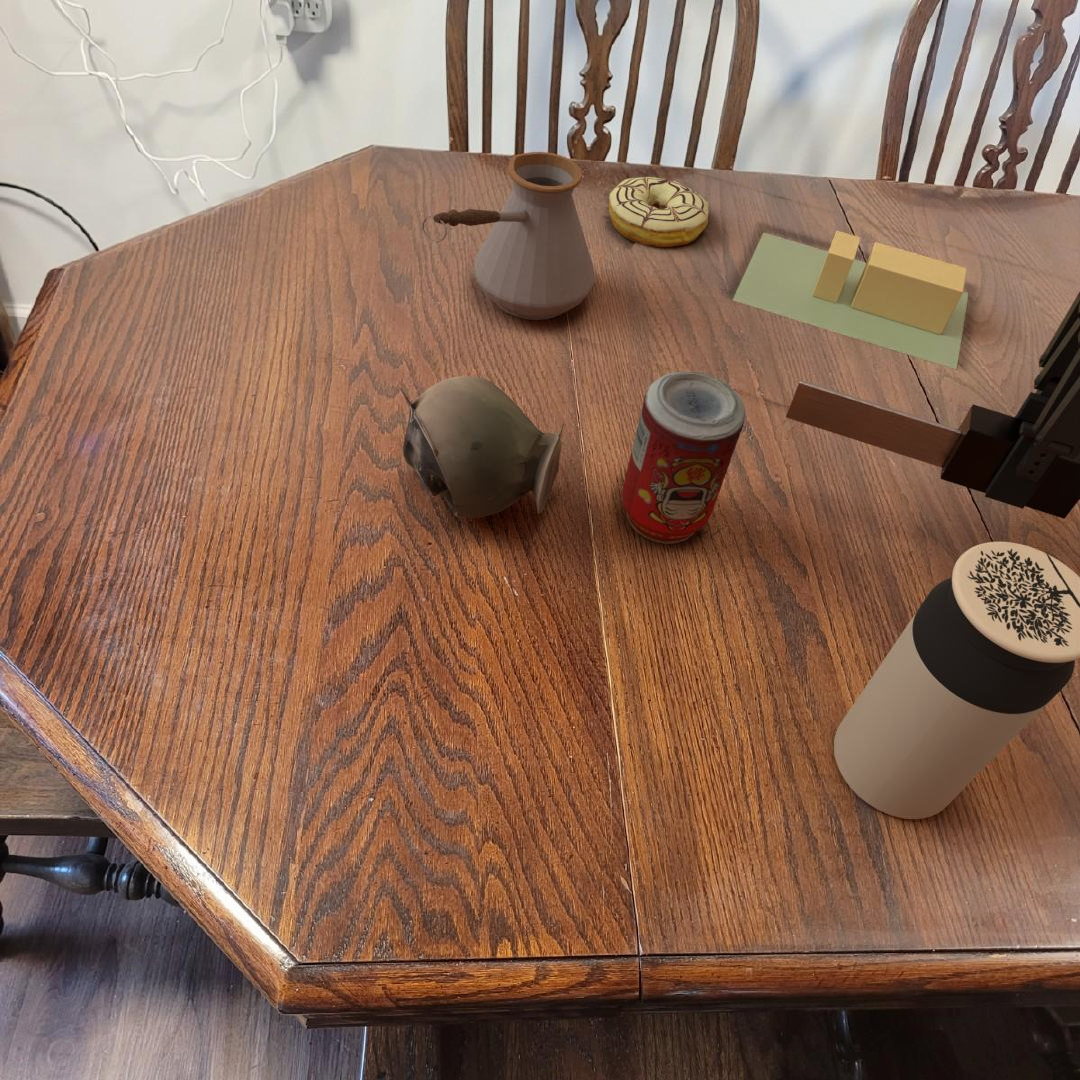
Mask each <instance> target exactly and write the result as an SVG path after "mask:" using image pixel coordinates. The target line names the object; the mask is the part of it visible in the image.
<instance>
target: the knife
mask: <svg viewBox="0 0 1080 1080" xmlns="http://www.w3.org/2000/svg"><path fill="white" fill-rule="evenodd" d="M798 381H799V382H798V384H797V386H796V389H795V392H794V395H793V397H792V399H791V402H790V405H789V408H788V410H787V413H786V415H785V418H786V419H789V420H792V421H795V422H798V423H801V424H804V425H808V426H811V427H815V428H817V429H821V430H824V431H826V432H829V433H833V434H836V435H839V436H841V437H846V438H849V439H852V440H855V441H857V442H861V443H864V444H867V445H870V446H872V447H876V448H879V449H882V450H884V451H885V450H886V451H888V452H893V453H895V454H897V455H900V456H901V455H902V456H904V457H906V458H907V457H908V458H910V459H913V460H916V461H920V462H923V463H926V464H929V465H932V466H935V467H939V468H941V471H940V477H939V478H940V480H943V481H945V482H949V483H952V484H955V485H958V486H961V487H964V488H966V489H967V488H968V489H970V490H973V491H977V492H980V493H982V494H985V492H986V489H987V487H988V486H989V484H990V483H991V481H992V480H993V478H994V477H995V475H996V474H997V472H998V470H999V469H1000V467H1001V466H1002V464H1003V463H1004V461H1005V460H1006V458H1007V456H1008V455H1009V453H1010V452H1011V450H1012V449H1013V447H1014V446H1015V444H1016V442H1017V441H1018V439H1019V438H1020V436H1021V434H1019V430H1020V427H1021V424H1022V422H1023V421H1024V422H1028V423H1031V424H1034V425H1035V423H1032V422H1029V421H1026V420H1022V419H1019V418H1016V417H1015V416H1013V415H1009V414H1006V413H1003V412H1000V411H997V410H993V409H990V408H987V407H983V406H980V405H977V404H972V405H971V406H970V408H969V410H968V411H967V413H966V415H965V417H964V418H963V420H962V422H961V424H960V425H959V427H958V428H956V427H952V426H949V425H946V424H942V423H941V422H937V421H934V420H930V419H928V418H923V417H922V416H921V417H920V416H917V415H914V414H911V413H907V412H905V411H901V410H899V409H895V408H892V407H889V406H885V405H883V404H880V403H876V402H873V401H870V400H866V399H863V398H860V397H856V396H854V395H850V394H847V393H844V392H840V391H838V390H835V389H831V388H829V387H825V386H822V385H818V384H816V383H813V382H809V381H806V380H803V379H800V380H798ZM1078 502H1080V454H1079V455H1078V456H1077V457H1076V458H1075V459H1071V458H1067V457H1064V456H1060V457H1059V459H1058V460H1057V461H1056V463H1055V464H1054V466H1053V467H1052V468H1051V470H1050V471H1049V473H1048V474H1047V476H1046V477H1045V478H1044V480H1043V481H1042V483H1041V484H1040V485H1039V487H1038V488H1037V490H1036V491H1035V493H1034V494H1033V495H1032V497H1031V498H1030V500H1029V501H1028V502H1027V504H1026V505H1025V507H1026V508H1029V509H1032V510H1035V511H1037V512H1041V513H1044V514H1047V515H1049V516H1050V515H1051V516H1053V517H1056V518H1060V519H1063V520H1065V519H1066V518H1067V517H1068V515H1069V514H1070V513H1071V511H1072V510H1073V509H1074V508H1075V506H1076V505H1077V504H1078Z"/></svg>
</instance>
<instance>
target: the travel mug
mask: <svg viewBox="0 0 1080 1080" xmlns="http://www.w3.org/2000/svg"><path fill="white" fill-rule="evenodd" d="M951 573H952V574H951V577H949V578H946V579H944V580H942V581H940V582H939V583H937V584H936V585H935V586H933V588H932V589H931V590H930V591H929V593H928V594H927V595H926V597H925V598H924V600H923V601H922V603H921V605H920V606H919V607H918V609H917V610H916V612H915V613H914V615H913V616H912V617H911V619H910V621H909V622H908V624H907V625H906V626H905V628H904V629H903V631H902V633H901V634H900V635H899V637H898V638H897V640H896V641H895V642H894V644H893V645H892V647H891V648H890V650H889V651H888V653H887V655H886V656H885V657H884V659H883V660H882V662H881V663H880V665H879V666H878V668H877V669H876V671H875V672H874V673H873V674H872V676H871V678H870V680H869V681H868V682H867V684H866V686H864V688H863V690H862V691H861V693H860V694H859V696H858V697H857V699H856V700H855V702H854V703H853V704H852V706H851V707H850V709H849V710H848V712H847V713H846V714H845V716H844V718H843V719H842V721H841V722H840V724H839V725H838V727H837V729H836V732H835V735H834V739H833V753H834V758H835V762H836V765H837V768H838V769H839V772H840V774H841V776H842V777H843V779H844V781H845V783H846V784H847V785H848V786H849V788H850V789H851V790H852V791H853V792H854V793H855V794H856V796H858V797H859V798H860V799H861V800H863V801H864V802H865V803H867V804H868V805H870V806H871V807H873V808H874V809H876V810H878V811H879V812H882V813H885V814H887V815H890V816H892V817H896V818H900V819H906V820H919V819H925V818H930V817H933V816H935V815H937V814H939V813H940V812H942V811H943V810H944V809H946V808H947V807H948V806H949V805H950V804H951V802H953V801H954V800H955V799H956V798H957V797H958V796H959V795H960V794H961V792H963V790H965V788H966V787H967V786H968V785H969V784H970V783H971V782H972V781H973V780H975V778H976V777H977V776H978V775H979V774H980V773H981V772H983V770H985V768H986V767H987V766H988V765H989V764H990V763H991V762H992V761H993V760H994V759H995V758H996V757H997V756H998V755H999V754H1000V753H1001V752H1002V751H1003V749H1005V748H1006V747H1007V745H1009V743H1010V742H1011V741H1013V740H1014V739H1015V737H1016V736H1018V735H1019V734H1020V732H1022V730H1023V729H1024V728H1025V727H1026V726H1027V725H1028V724H1030V722H1031V721H1033V719H1034V718H1035V717H1036V716H1037V715H1038V714H1039V713H1041V711H1042V710H1043V709H1044V708H1045V707H1047V705H1048V704H1049V703H1050V702H1051V701H1052V700H1053V699H1054V698H1055V697H1056V696H1057V695H1058V694H1059V693H1060V692H1061V691H1062V689H1064V688H1065V687H1066V685H1067V684H1068V683H1069V682H1070V680H1071V679H1072V677H1073V674H1074V671H1075V666H1076V660H1079V659H1080V576H1079V575H1078V574H1077V573H1076V572H1075V571H1074V570H1073V569H1071V568H1070V567H1069V566H1068V565H1066V564H1065V563H1063V562H1062V561H1060V560H1059V559H1058V558H1056V557H1054V556H1052V555H1050V554H1048V553H1047V552H1044V551H1041V550H1039V549H1037V548H1034V547H1031V546H1030V545H1029V546H1028V545H1025V544H1021V543H1016V542H1011V541H1010V542H1009V541H990V542H989V541H988V542H984V543H980V544H977V545H974V546H972V547H970V548H968V549H967V550H965V551H964V552H963V553H962V554H961V555H960V556H959V558H958V559H957V560H956V562H955V564H954V566H953V569H952V572H951Z"/></svg>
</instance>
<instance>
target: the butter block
mask: <svg viewBox="0 0 1080 1080" xmlns="http://www.w3.org/2000/svg"><path fill="white" fill-rule="evenodd" d="M867 258H868V259H867V261H866V265H865V268H864V270H863V272H862V275H861V277H860V280H859V282H858V285H857V288H856V291H855V294H854V298H853V301H852V304H851V308H854V309H857V310H860V311H863V312H867V313H870V314H873V315H877V316H880V317H883V318H886V319H890V320H893V321H896V322H900V323H903V324H906V325H909V326H913V327H916V328H919V329H923V330H926V331H929V332H932V333H936V334H939V335H941V334H942V332H943V330H944V328H945V326H946V324H947V322H948V320H949V319H950V317H951V315H952V313H953V311H954V309H955V307H956V305H957V303H958V301H959V299H960V297H961V295H962V293H963V291H964V290H965V289H964V288H965V283H966V276H967V271H968V269H967V267H963V266H960V265H956V264H953V263H950V262H946V261H944V260H943V261H942V260H939V259H936V258H933V257H929V256H926V255H922V254H919V253H914V252H912V251H908V250H905V249H901V248H898V247H895V246H891V245H888V244H884V243H880V242H878V241H875V242H874V243H873V246H872V249H871V251H870V253H869V256H868V257H867Z"/></svg>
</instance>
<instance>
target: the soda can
mask: <svg viewBox="0 0 1080 1080" xmlns="http://www.w3.org/2000/svg"><path fill="white" fill-rule="evenodd" d="M639 415H640V416H639V419H638V423H637V428H636V432H635V436H634V440H633V444H632V447H631V452H630V456H629V460H628V465H627V470H626V473H625V476H624V477H625V478H624V482H623V485H622V491H621V500H622V501H621V502H622V504H623V507H624V510H625V512H626V518H627V521H628V523H629V524H630V526H631V527H632V529H634V531H635V532H636V533H637V534H639V535H640V536H642V537H644V538H645V539H648V540H650V541H652V542H656V543H659V544H670V545H671V544H678V543H680V542H681V543H682V542H684V541H686V540H688V539H689V538H692V536H693V535H694V534H695V533H696V532H697V531H700V530H701V529H702V528H704V526H705V525H706V524H707V523H708V521H709V520H710V518H711V516H712V515H713V512H714V509H715V506H716V503H717V500H718V497H719V494H720V491H721V489H722V487H723V483H724V480H725V477H726V475H727V472H728V469H729V466H730V463H731V460H732V458H733V454H734V452H735V450H736V447H737V444H738V441H739V439H740V436H741V433H742V430H743V429H744V425H745V419H746V409H745V405H744V402H743V400H742V399H741V397H740V395H739V394H738V393H737V392H736V391H735V389H734V388H733V387H731V386H730V385H729V384H727V383H725V382H724V381H723V380H721V379H718V378H717V377H714V376H711V375H708V374H706V373H703V372H698V371H676V372H670V373H667V374H664V375H662V376H660V377H658V378H657V379H655V380H654V381H653V382H652V383H650V385H649V387H648V388H647V390H646V392H645V395H644V398H643V403H642V407H641V411H640V414H639Z"/></svg>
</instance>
